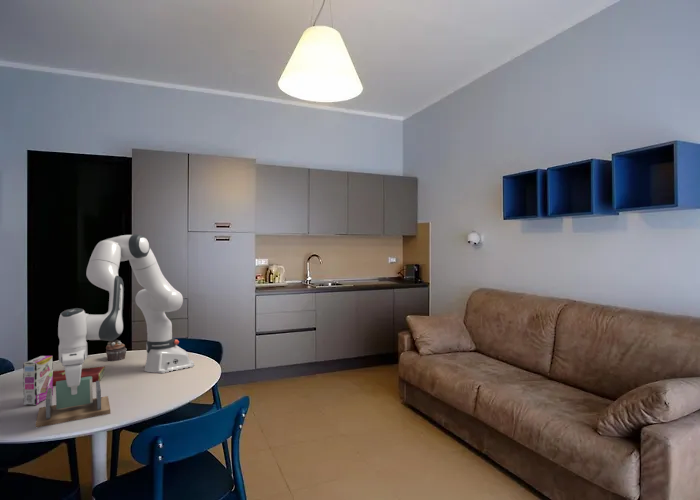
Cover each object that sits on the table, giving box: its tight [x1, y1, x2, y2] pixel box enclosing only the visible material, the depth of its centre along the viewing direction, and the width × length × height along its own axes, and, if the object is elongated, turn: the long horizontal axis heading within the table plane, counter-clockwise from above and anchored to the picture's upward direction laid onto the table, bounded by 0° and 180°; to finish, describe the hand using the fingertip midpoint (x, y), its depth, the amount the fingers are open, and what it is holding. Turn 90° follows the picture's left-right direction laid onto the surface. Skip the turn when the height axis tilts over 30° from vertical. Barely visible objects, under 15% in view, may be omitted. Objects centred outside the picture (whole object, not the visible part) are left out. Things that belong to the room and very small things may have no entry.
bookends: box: [45, 380, 102, 420], centre depth 160 cm, size 16×13×7 cm
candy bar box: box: [22, 355, 54, 407], centre depth 172 cm, size 11×5×16 cm, turn 5°
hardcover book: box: [53, 365, 106, 387], centre depth 197 cm, size 12×21×4 cm, turn 109°
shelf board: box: [35, 395, 111, 428], centre depth 160 cm, size 22×16×2 cm
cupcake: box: [105, 338, 127, 362], centre depth 231 cm, size 10×10×10 cm
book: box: [55, 376, 94, 409], centre depth 160 cm, size 4×11×9 cm, turn 121°
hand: (74, 392), depth 160 cm, fingers closed on book, 3 cm apart
